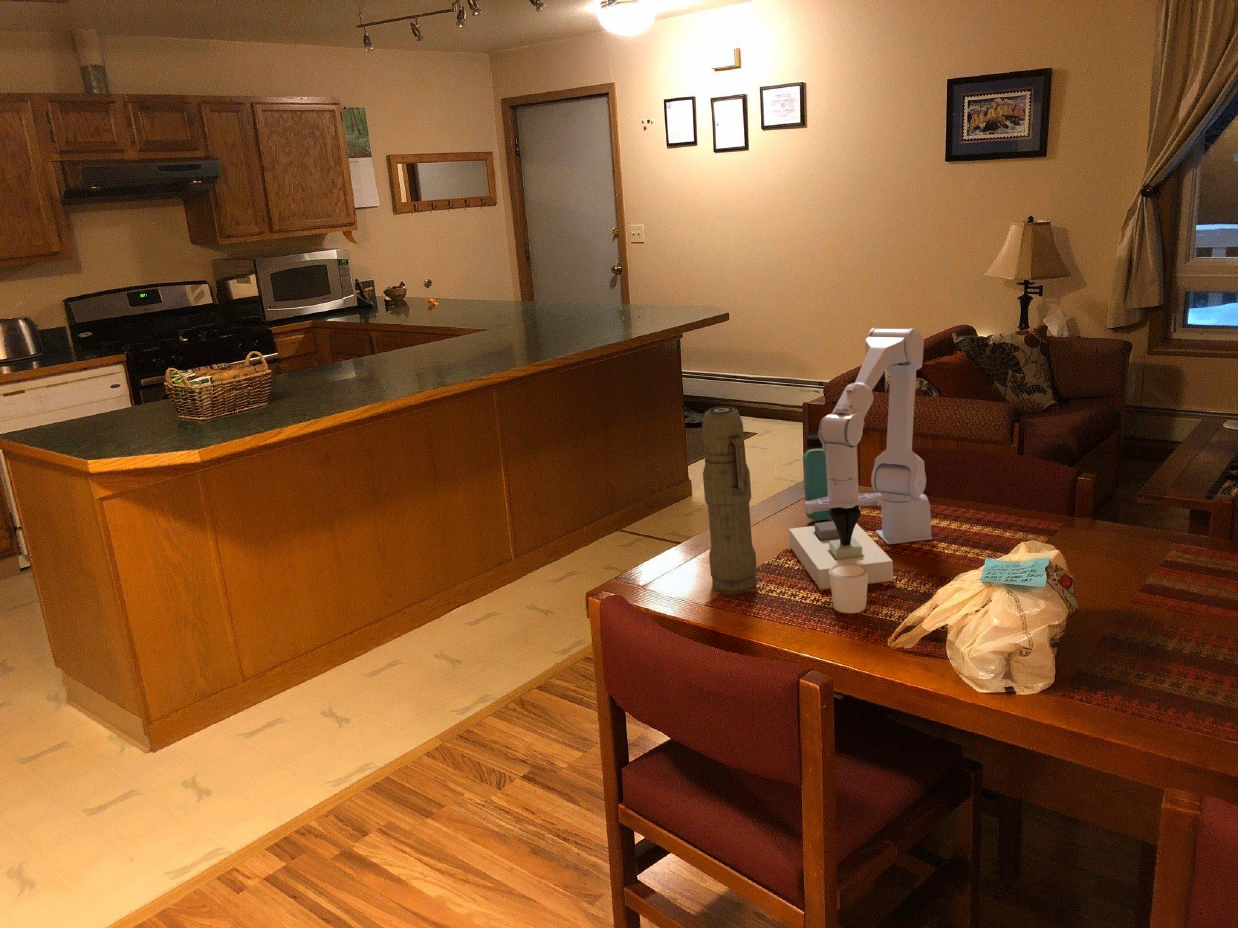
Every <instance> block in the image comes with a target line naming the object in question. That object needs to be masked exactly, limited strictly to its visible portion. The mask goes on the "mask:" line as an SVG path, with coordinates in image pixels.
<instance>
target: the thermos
mask: <svg viewBox="0 0 1238 928" xmlns="http://www.w3.org/2000/svg"><path fill="white" fill-rule="evenodd" d="M701 428H702V440H703V442H702V443H703V452H704V455H705V458H704V467H703V472H702V481H703V492H704V502H705V503H706V506H707V511H708V523H709V534H710V549H709V553H708V558H709V559H708V560H709V569H710V571H709V572H710V577H711V578H712V579H711V580H712V581H711V582H712V585H711V586H712V589H713V591H715V592H717V593H719V594H724V595H740V594H743V593H744V592H745V593H748V592H751V591H753V590H754V589H756V588H757V586H758V582H757V573H758V568H757V557H756V556H757V555H756V554H757V553H756V549H755V548H754V545H753V538H752V524H751V523H752V522H751V508H750V502H751V499H752V490H751V489H752V488H751V472H750V469H749V467H748V464H747V459H746V445H745V436H744V435H745V434H744V423H743V420H742V418H741V415H740V413H739V411H738V409H736V408H734V407H733V406H716V407H712V408H710V409H708V410H707V411H705V412H704V416H703V420H702V426H701ZM756 585H757V586H756ZM755 587H756V588H755ZM752 589H753V590H752ZM750 590H751V591H750Z"/></svg>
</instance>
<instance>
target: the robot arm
mask: <svg viewBox="0 0 1238 928" xmlns="http://www.w3.org/2000/svg"><path fill="white" fill-rule="evenodd" d="M924 343H925V341H924V338H923V336H922V333H921V332H920V330H919V329H918V328H917V327H911V328H879V327H872V328H871V329H870V330H869V331H868V333H867V335H866V338H865V341H864V352H865V358H864V360H863V362H862V365H861V367H860V370H859V372H858V375H857V377H856V379H855V381H854V382H852V383H849V384H847V386H846V387H845V388H844V390H843V392H842V394H841V395H840V397H839V399H838V400H837V403H836V405H835V407H834V408H833V410H832V412H831V413H829V414H827V415H826V416H824V417H823V418H822V419H821V421H820V423H819V428H818V434H817V435H819V439H820V441H821V443H822V446H823V447H822V449H823V451H824V453H826V466H827V486H828V497H824V498H820V499H816V500H812V501H805V500H804V511H806V512H805V514H806V513H807V514H812V513H813V512H819V511H828V512H829V514H830V515H831V517H832V518H831V519H832V521H834V523H835V526H836V528H837V531H838V534H839V538H840V543H841V544H842V545H843V546H846V545H850V543H851V537H852V533H853V530H854V527H855V525H856V523H857V522H858V521H859V519H860V517H861V513H862V511H861V509H860V508H861V507H870V506H879V507H880V506H881V529H877V530H875V533H876V534H877V536H879V538H881V539H882V540H883V541H884V542H885V543H886V544H887V545H896V544H904V543H911V542H912V543H913V542H921V541H929V540H932V539H933V537H932V529H931V528H932V527H931V526H932V525H931V521H932V520H931V519H932V518H931V506H930V505H931V504H930V501H929V499H928V496H927V495H926V494H924V491H925V489H926V485H927V475H926V471H925V470H926V469H925V460H924V459H922V458H921V457H920V456H919V455H918V454H916V453H915V452H914V451H913V434H914V433H913V431H914V415H915V414H914V413H915V399H916V398H915V397H916V383H917V382H916V381H917V380H916V379H917V371H918V370H920V369H921V368H922V367H923V361H924V359H923V358H924V345H925V344H924ZM886 371H887V372H888V374H889V377H890V378H889V391H888V393H889V394H888V413H887V414H888V415H887V429H886V430H887V432H886V433H887V434H886V447H885V448H886V449H885V451H884V452H882V453H881V454H879V455H878V456H877V457H875V459H874V465H873V470H872V473H871V477H870V480H871V481H870V482H871V487H872V489H873V491H874V492H873V493H872V492H871V493H859V475H858V473H859V470H858V446H857V445H858V444H860V441H861V439H862V436H863V430H864V426H865V420H864V419H865V417H866V415H867V413H868V411H869V409H870V408H871V406H872V404H873V401H874V399H875V396H874V394H873V392H872V391H873V389H874V388H875V387H876V386H877V384H878V382H879V380H880V379H881V377H882V376H883V374H884V373H885V372H886ZM857 524H858V523H857Z"/></svg>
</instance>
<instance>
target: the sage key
mask: <svg viewBox="0 0 1238 928" xmlns="http://www.w3.org/2000/svg"><path fill="white" fill-rule="evenodd" d="M829 550H830V554H831V556H832V557H833V558H834V559H835V560H842V559H851V558H859V557H862V546H861V545H860V544H859V543H858V541H857V540H856V539H855V538H851V543H850V545H846V546H843V545H842V544H841V543H840V540H832V541H829Z"/></svg>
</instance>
